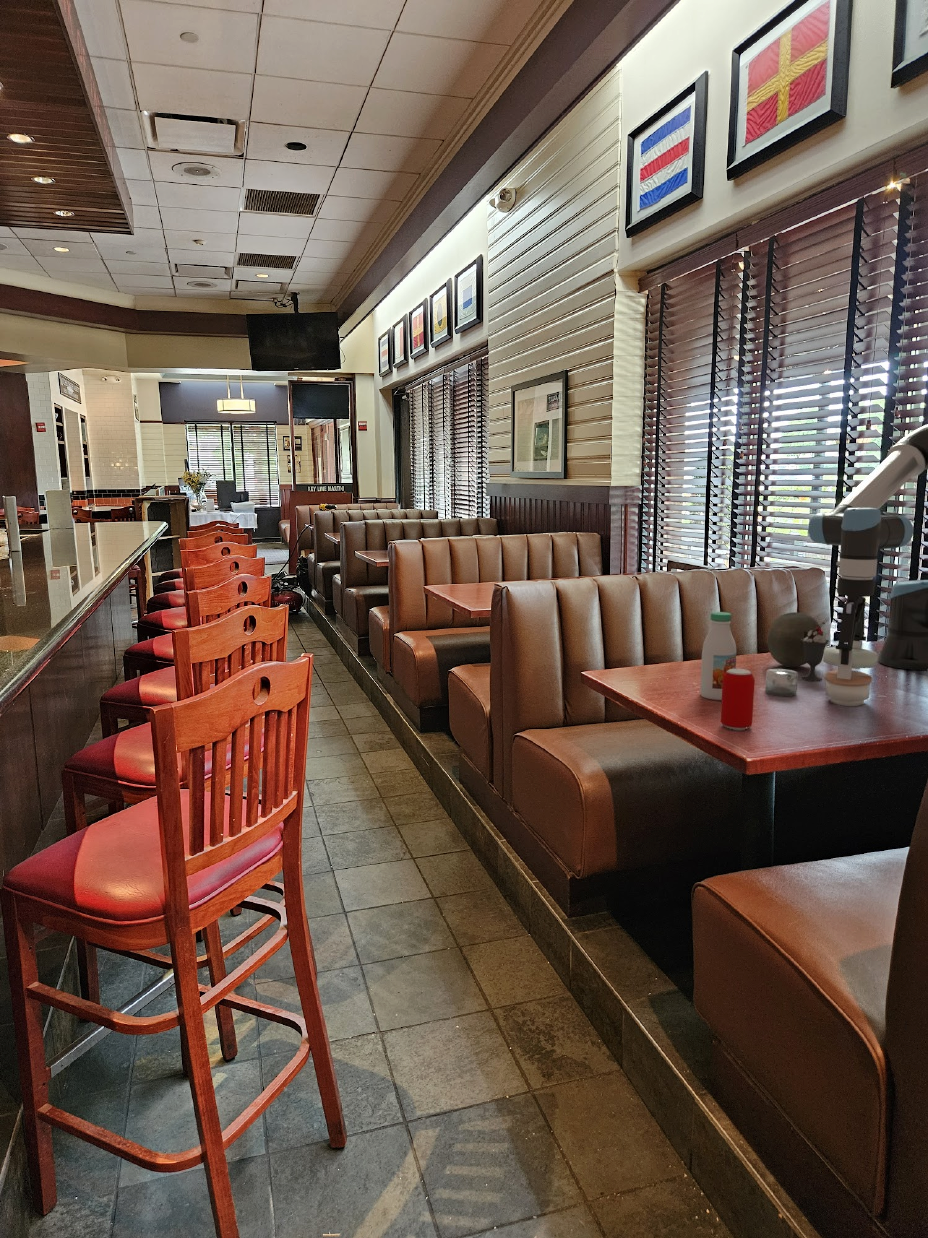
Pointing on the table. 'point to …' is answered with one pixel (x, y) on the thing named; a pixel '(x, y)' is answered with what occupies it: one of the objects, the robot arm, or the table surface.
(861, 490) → the robot arm
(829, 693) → the bowl
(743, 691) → the beverage can
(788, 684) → the lid stand
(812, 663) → the sundae
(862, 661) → the lid
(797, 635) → the cantaloupe
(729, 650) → the milk bottle
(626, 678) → the table surface
